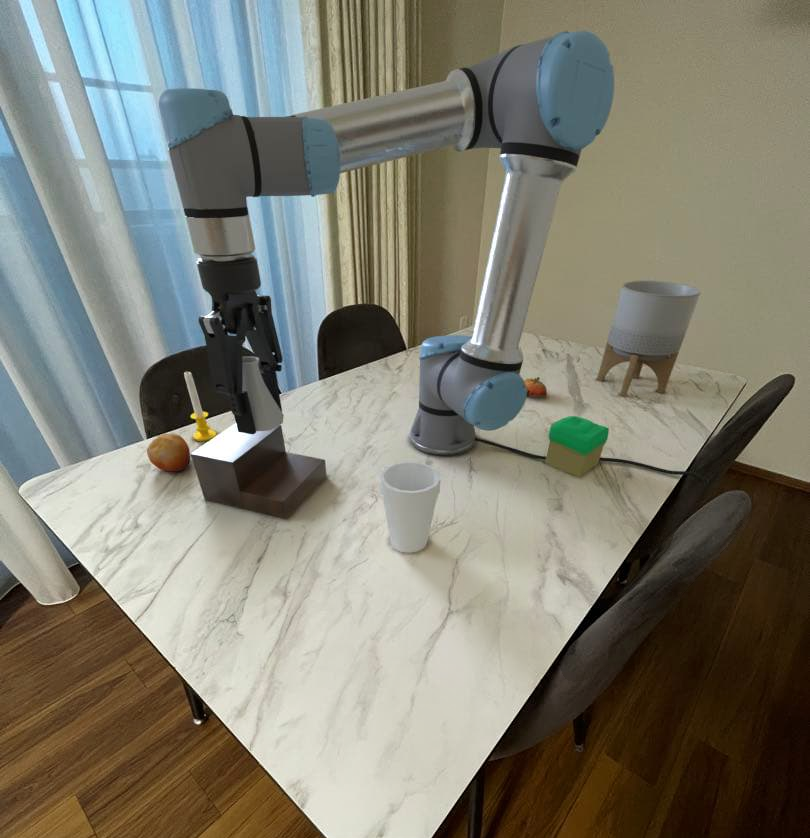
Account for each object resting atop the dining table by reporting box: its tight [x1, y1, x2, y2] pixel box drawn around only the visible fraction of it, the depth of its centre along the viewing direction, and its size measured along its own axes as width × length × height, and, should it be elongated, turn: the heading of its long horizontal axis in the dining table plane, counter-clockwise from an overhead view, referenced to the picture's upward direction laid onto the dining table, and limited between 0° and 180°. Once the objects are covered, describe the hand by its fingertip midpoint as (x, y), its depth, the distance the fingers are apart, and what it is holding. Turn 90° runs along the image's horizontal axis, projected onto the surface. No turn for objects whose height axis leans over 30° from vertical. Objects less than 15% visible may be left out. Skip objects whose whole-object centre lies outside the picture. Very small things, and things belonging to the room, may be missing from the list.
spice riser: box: [190, 422, 328, 520], centre depth 91 cm, size 18×16×10 cm
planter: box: [596, 280, 702, 398], centre depth 130 cm, size 19×19×26 cm
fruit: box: [146, 433, 192, 472], centre depth 98 cm, size 8×8×8 cm
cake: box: [544, 415, 610, 478], centre depth 100 cm, size 10×11×10 cm
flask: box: [242, 355, 285, 431], centre depth 72 cm, size 7×7×10 cm
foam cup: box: [379, 460, 441, 554], centre depth 77 cm, size 10×9×13 cm
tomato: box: [524, 376, 548, 398], centre depth 131 cm, size 8×7×7 cm
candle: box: [183, 371, 218, 442], centre depth 106 cm, size 5×5×16 cm
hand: (261, 421), depth 75 cm, fingers closed on flask, 7 cm apart
